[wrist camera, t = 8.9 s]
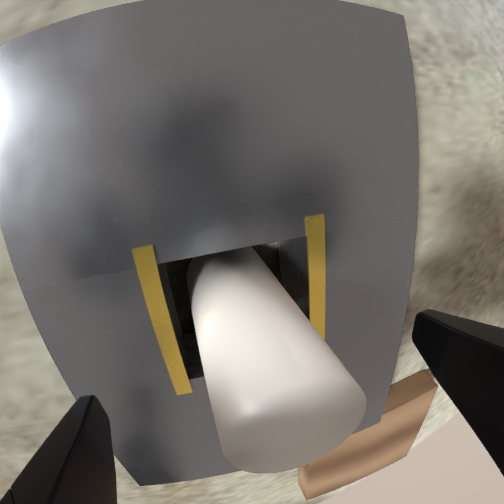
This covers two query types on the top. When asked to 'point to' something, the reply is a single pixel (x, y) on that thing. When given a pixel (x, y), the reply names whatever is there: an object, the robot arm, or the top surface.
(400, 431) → the brown square slab
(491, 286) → the top surface
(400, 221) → the plate
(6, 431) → the top surface
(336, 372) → the white peg
